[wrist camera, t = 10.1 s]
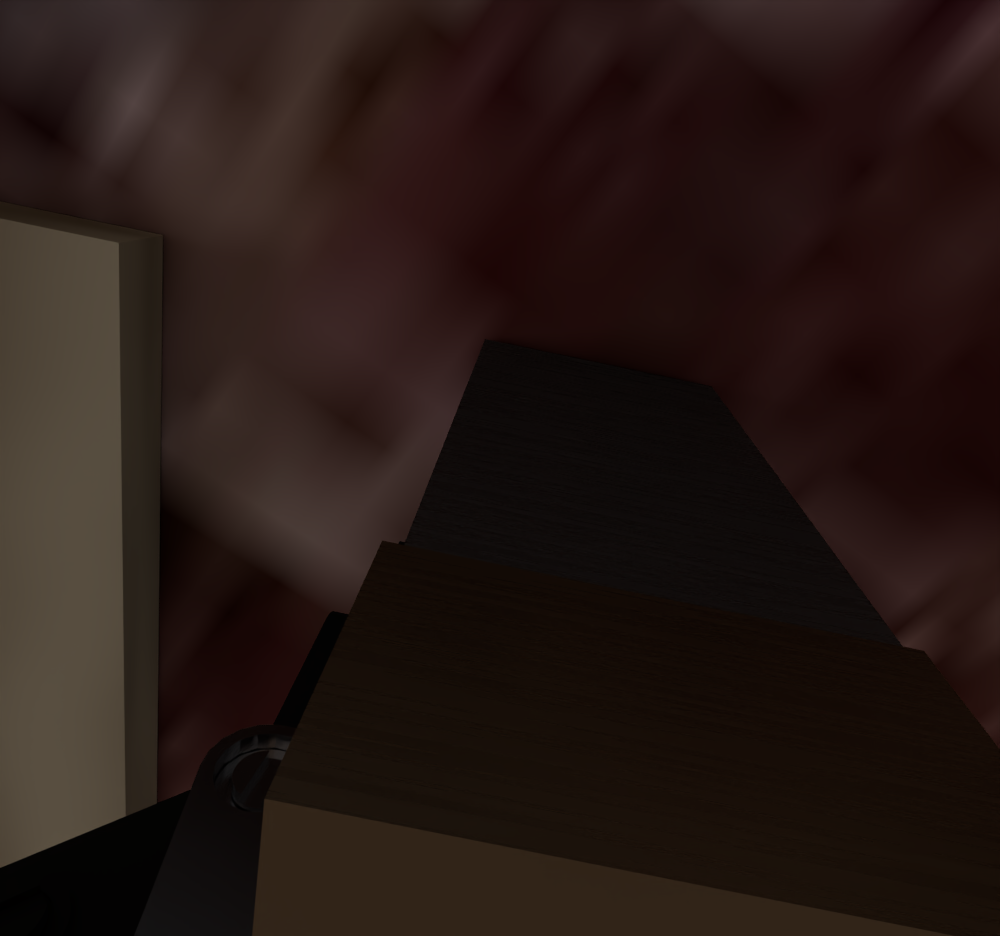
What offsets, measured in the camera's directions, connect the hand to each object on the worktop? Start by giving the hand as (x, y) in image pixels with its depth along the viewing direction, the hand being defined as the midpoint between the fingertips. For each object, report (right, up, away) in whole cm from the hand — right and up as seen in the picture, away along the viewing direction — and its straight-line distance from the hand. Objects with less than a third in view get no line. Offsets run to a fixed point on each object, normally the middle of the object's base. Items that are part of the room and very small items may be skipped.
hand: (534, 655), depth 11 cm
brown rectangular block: (0, 0, +1) cm, 1 cm away
